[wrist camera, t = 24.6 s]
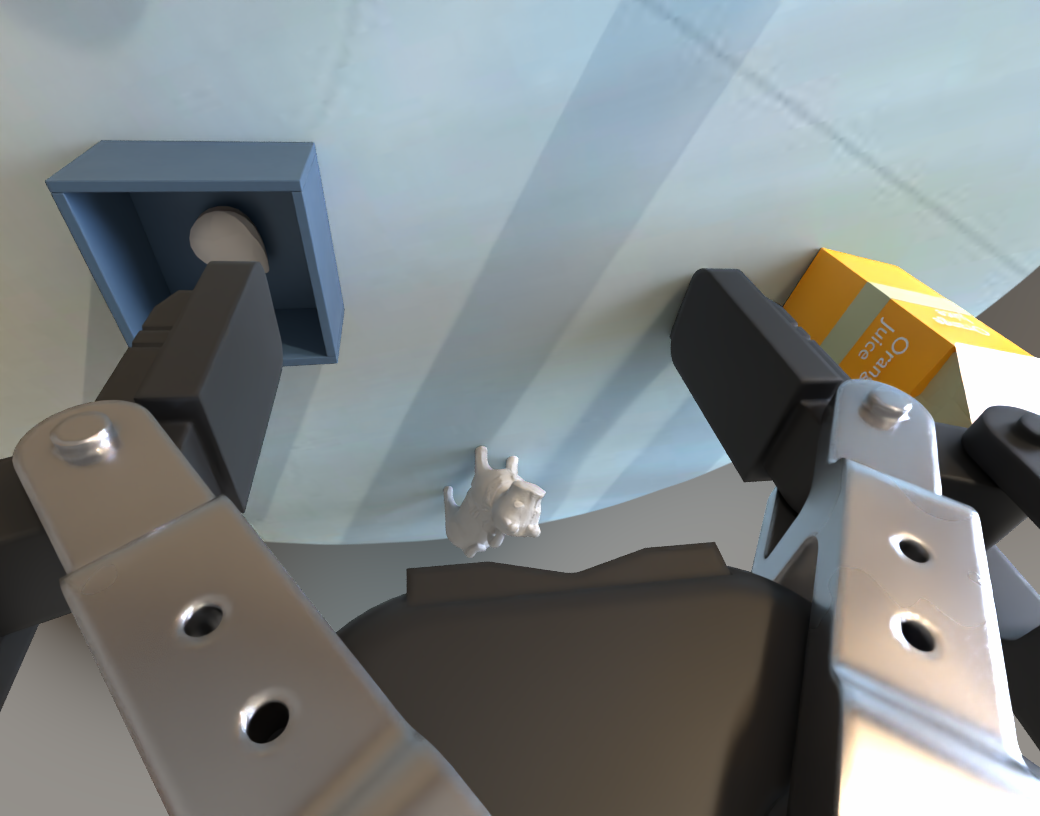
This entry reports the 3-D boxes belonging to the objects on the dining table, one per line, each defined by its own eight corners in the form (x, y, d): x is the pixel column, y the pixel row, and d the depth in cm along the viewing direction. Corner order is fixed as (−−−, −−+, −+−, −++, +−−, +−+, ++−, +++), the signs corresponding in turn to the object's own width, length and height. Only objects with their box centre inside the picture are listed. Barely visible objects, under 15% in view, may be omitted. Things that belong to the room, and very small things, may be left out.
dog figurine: (541, 433, 54) (567, 518, 46) (477, 510, 60) (491, 596, 52) (497, 417, 52) (516, 504, 44) (435, 498, 58) (442, 588, 50)
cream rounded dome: (224, 187, 34) (214, 202, 32) (291, 244, 37) (286, 260, 35) (183, 231, 35) (171, 248, 33) (251, 282, 38) (244, 300, 36)
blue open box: (43, 180, 27) (141, 374, 34) (300, 180, 29) (337, 363, 36) (100, 140, 32) (174, 316, 40) (314, 142, 34) (344, 309, 42)
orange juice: (843, 337, 53) (1018, 495, 38) (770, 323, 50) (929, 488, 35) (899, 264, 48) (1124, 411, 33) (822, 245, 45) (1029, 396, 30)
